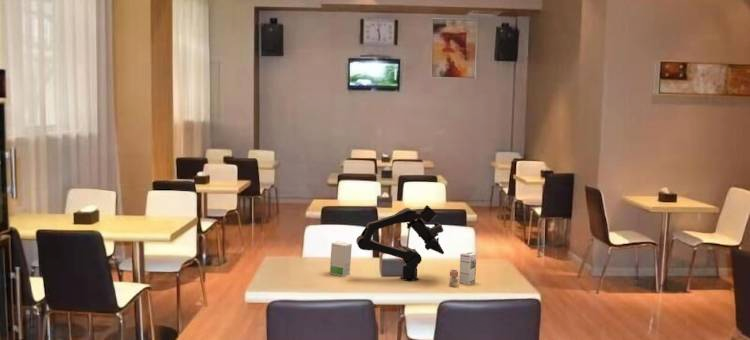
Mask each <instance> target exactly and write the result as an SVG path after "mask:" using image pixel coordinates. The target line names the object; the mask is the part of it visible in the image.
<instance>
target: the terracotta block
mask: <svg viewBox="0 0 750 340" xmlns="http://www.w3.org/2000/svg"><path fill="white" fill-rule="evenodd" d="M450 276H452V277H458V278H459V269H449V277H450Z"/></svg>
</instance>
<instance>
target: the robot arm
mask: <svg viewBox="0 0 750 340" xmlns="http://www.w3.org/2000/svg"><path fill="white" fill-rule="evenodd" d="M437 216H438V214H437V213H436V212H435V210H433V209H432V208H431V207H430V206H429V204H426V205H425V206H424V207H423V208H422V209H421V210H420V211H415V210H413V209H412V208H409V207H405V208H403V209H401V210H399V211H397V212H396V213H394V214H392V215H390V216H387V217H383V218H381V219H380V218H379V219H377V220H374V221H369V222H368V223H367V224H366V225H365V228H364V229H363V230H362V233H361V234H360V235H359V236H357V238H356V242H355V243H356V245H357V247H358V248H359V249H360V250H362V251H363V250H364V251H375V252H379V253H382V254H386V255H390V256H393V257H396V258H400V259H402V263H403V265H404V266H402V276H400V279H401V280H405V281H407V282H411V281H412V282H413V281H417V280H419V279H420V278H419V277H418V266H419V265H420V264H421V262H422V259H423V258H422V256H421V254H420V253H419V251H417V250H416V248H410V247H409V246H408V247H406V249H402V248H398V247H395V246H391V245H389V244H388V245H387V244H384V243H382V242H378V241H376V240H374V239H372V238H373V235H374V233H375V231H377V230H379V229H383V228H386V227H389V226H393V225H395V224H402V223H403V224H405V223H406V229H413V231H414V232H416V234H417V235H418V237H419V238H420V239H422V241H423V242H424V248H425V250H427V251H429V250H432V251H434V252H436V253H438V254H441V255H443V254H445V251H444V250H443V248H442V247H441V244H440V243H439V241H440V240H439V239H440V238H439V237H438V236H439V234H440V233H443V232H444V227H443V226H442V224H441V223H439V222H435V223H433V225H434V226H432V227H430V226H428V225H426V224H425V223H428V224H429V223H430V222H431V221H433V220H434V219H435V218H436V217H437ZM436 237H437V238H436Z"/></svg>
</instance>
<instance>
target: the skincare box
mask: <svg viewBox="0 0 750 340" xmlns="http://www.w3.org/2000/svg"><path fill="white" fill-rule="evenodd" d="M330 245H331V246H330V263H329V275H332V276H333V275H334V276H339V277H343V278H344V277H347V276H349V275H350V274H351V263H352V261H351V259H352V249H353V248H352V247H353V246H352V245H353V244H352V243H351V242H350V243H349V242H345V241H341V240H337V241H334V242H332V243H331V244H330Z"/></svg>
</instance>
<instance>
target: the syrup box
mask: <svg viewBox="0 0 750 340" xmlns="http://www.w3.org/2000/svg"><path fill="white" fill-rule="evenodd" d="M459 254H460V255H459V258H460V259H459V275H458V283H460V284H465V285H469V286H470V285H472V284H475V283H476V269H477V253H476V252H472V251H465V252H462V253H459Z"/></svg>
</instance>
